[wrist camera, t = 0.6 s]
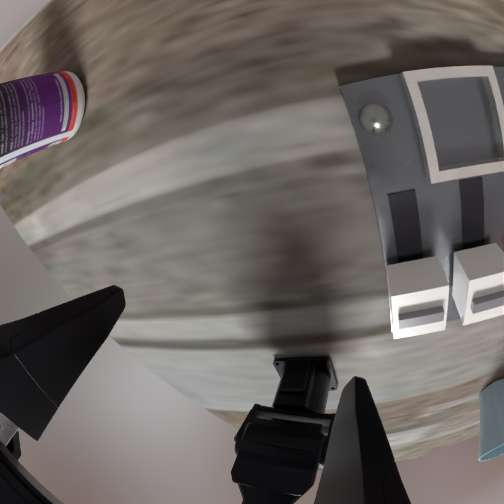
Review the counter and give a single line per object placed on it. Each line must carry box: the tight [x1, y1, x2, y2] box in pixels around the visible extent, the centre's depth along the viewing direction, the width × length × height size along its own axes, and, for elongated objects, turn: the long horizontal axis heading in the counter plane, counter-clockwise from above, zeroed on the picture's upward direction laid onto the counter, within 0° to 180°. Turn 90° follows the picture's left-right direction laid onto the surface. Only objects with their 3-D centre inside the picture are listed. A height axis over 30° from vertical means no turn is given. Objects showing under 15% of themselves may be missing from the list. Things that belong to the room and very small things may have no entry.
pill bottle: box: [0, 71, 85, 168], centre depth 15 cm, size 8×8×14 cm
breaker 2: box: [452, 243, 504, 325], centre depth 14 cm, size 4×4×4 cm
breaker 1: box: [386, 256, 449, 339], centre depth 16 cm, size 4×4×4 cm
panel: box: [339, 66, 504, 331], centre depth 13 cm, size 20×20×2 cm
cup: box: [478, 379, 504, 461], centre depth 18 cm, size 8×8×10 cm
